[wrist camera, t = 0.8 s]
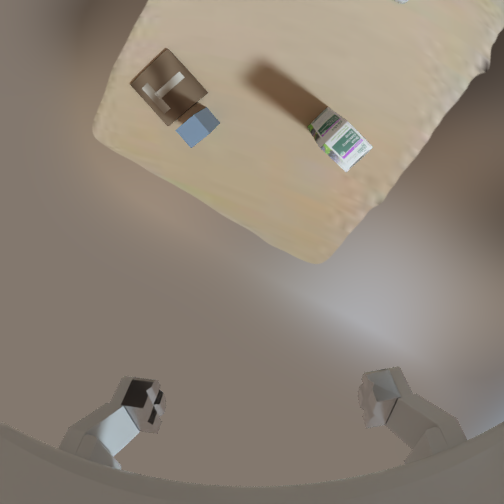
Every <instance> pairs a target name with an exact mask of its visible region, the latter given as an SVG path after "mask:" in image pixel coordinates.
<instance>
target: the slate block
mask: <svg viewBox="0 0 504 504" xmlns="http://www.w3.org/2000/svg"><path fill="white" fill-rule="evenodd" d="M219 124H220V122H219V121H218V120H217V119H216V118H215V116H214V115H213V114H212V113H211V112H210V111H209V109H208V108H207V107H206V108H204V109H203V110H201V111H199V112H198V113H196V114H194V115H193V116H192V117H190V118H189V119H188V120H187V121H186V122H185V123H183V124H182V125H181V126H180V127H179V128H178V129H177V130H176V131H177V133H178V134H179V135H180V136H181V137H182V138H183V139H184V140H185V142H186V143H187V144H188V145H189V146H190V147H191V148H192V147H193V146H195V145H196V144H197V143H198V142H200V141H201V140H202V139H203V138H205V137H206V136H207V135H208V134H210V133H211V132H212V131H213V130H214V129H215V128H216V127H217V126H218V125H219Z"/></svg>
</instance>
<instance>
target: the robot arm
mask: <svg viewBox="0 0 504 504" xmlns="http://www.w3.org/2000/svg"><path fill="white" fill-rule="evenodd" d="M395 1H396V2H398V3H402V4H403V3H405V2H407V1H408V0H395ZM362 382H363V384H362V385H361V386H360V387H359V391H358V400H359V405H360V408H362V409H363V410H364V413H363V418H364V422H365V426H366V428H371V427H376V426H381V425H385V426H386V427H388V428H389V429H390V430H391V431H392V432H393V433H394V434H395V435H397V436H398V437H399V438H400V439H401V440H402V441H403V442H404V443H406V444H407V445H408V446H409V447H410V448H411V449H413V450H412V451H411V453H410V454H409V455H408V457H407V458H406V460H405V461H404V462H405V465H402V466H398V467H395V468H391V469H387V470H383V471H379V472H376V473H371V474H367V475H362V476H357V477H352V478H346V479H340V480H334V481H328V482H320V483H311V484H303V485H289V486H270V487H269V486H266V487H241V486H240V487H239V486H219V485H206V484H196V483H188V482H187V483H186V482H180V481H173V480H167V479H161V478H156V477H150V476H146V475H141V474H136V473H132V472H128V471H124V470H120V469H121V465H120V463H119V462H118V461H117V460H116V459H115V458H114V457H113V456H115V455H116V454H117V453H118V452H119V451H120V450H121V449H122V448H123V447H124V446H125V445H126V444H127V443H129V442H130V441H131V440H132V439H133V438H134V437H135V436H136V435H137V434H138V433H139V431H143V432H150V433H158V431H159V428H160V425H161V422H162V421H161V419H160V416H161V415H162V414H164V412H165V408H166V399H165V396H164V393H163V392H162V391H160V390H159V388H160V384H159V382H158V381H157V380H151V379H143V378H136V377H128V376H124V377H123V378H122V379H121V381H120V383H119V385H118V387H117V389H116V391H115V393H114V395H113V397H112V399H111V401H110V403H106V404H104V405H103V406H101V407H100V408H98V409H96V410H95V411H93V412H92V413H91V414H89V415H87V416H86V417H85V418H83V419H81V420H80V421H78V422H76V423H75V424H73V425H72V426H70V427H69V428H68V430H67V432H66V434H65V436H64V438H63V440H62V442H61V444H60V446H59V448H55V447H53V446H51V445H48V444H46V443H44V442H42V441H40V440H38V439H35V438H33V437H31V436H29V435H27V434H25V433H23V432H21V431H20V430H18V429H16V428H14V427H12V426H10V425H8V424H6V423H0V504H504V422H502V423H500V424H499V425H497V426H495V427H493V428H491V429H489V430H488V431H486V432H484V433H482V434H480V435H478V436H476V437H474V438H472V439H469V440H467V439H466V436H465V434H464V432H463V430H462V428H461V426H460V424H459V422H458V420H457V418H456V417H454V416H452V415H450V414H449V413H447V412H446V411H444V410H442V409H441V408H439V407H437V406H436V405H434V404H432V403H431V402H429V401H427V400H426V399H424V398H423V397H421V396H419V395H417V394H413V393H412V391H411V389H410V387H409V385H408V382H407V380H406V378H405V377H404V374H403V372H402V370H401V368H400V367H393V368H388V369H382V370H377V371H371V372H366V373H364V374H363V376H362Z"/></svg>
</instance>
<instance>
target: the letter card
mask: <svg viewBox="0 0 504 504" xmlns="http://www.w3.org/2000/svg"><path fill="white" fill-rule="evenodd" d="M131 86H132V87H133V88H134V89H135V90H136V91H137V92H138V94H139V95H140V96H141V97H142V98H143V99H144V100H145V101H146V102H147V103H148V105H149V106H150V107H151V108H152V109H153V110H154V111H155V112H156V113H157V115H158V116H159V117H160V118H161V119H162V120H163V121H164V122H165V124H166V125H167V126H170V125H171V124H172V123H173V122H174V121H175V120H176V119H177V118H179V117H180V116H181V115H182V114H183V113H184V112H186V111H187V110H188V109H189V108H190V107H191V106H193V105H194V104H195V103H196V102H197V101H199V100H200V99H201V98H202V97H204V96H205V95H206V94H207V93H208V92H207V91H206V90H205V89H204V88H203V86H202V85H201V84H200V83H199V82H198V81H197V80H196V79H195V77H194V76H193V75H192V74H191V73H190V72H189V71H188V70H187V69H186V67H185V66H184V65H183V64H182V63H181V62H180V61H179V60H178V59H177V58H176V57H175V56H174V55H173V53H172V52H171V51H170V50H169V49H167V50H166V51H165V52H163V53H162V54H161V55H160V56H159V57H158V58H157V59H156V60H155V61H154V62H153V63H152V64H151V65H150V66H148V67H147V68H146V69H145V70H144V71H143V72H142V73H141V74H140V75H139V76H138V77H137V78H136V79H135V81H134V82H133V83H132V84H131Z"/></svg>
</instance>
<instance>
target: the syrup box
mask: <svg viewBox="0 0 504 504" xmlns="http://www.w3.org/2000/svg"><path fill="white" fill-rule="evenodd" d="M308 129H309V131H310V132H311V134H312V136H313V137H314V139H315V141H316V143H317V144H318V146H319V147H320V148H321V149H322V150H323V151H324V152H325V153H326V154H327V155H328V156H330V157H331V159H332V160H334V161H335V162H336V163H337V164H338V165H339V166H340V167H341V168H342V169H343V170H344V171H345V172H347V171H348V170H349V169H350V168H351V167H352V166H353V165H355V164H356V163H357V162H358V161H359V160H360V159H362V158H363V157H364V156H365V155H366V154H367V153H368V152H369V151H370V150H371V149H372V148H373V146H372V145H371V144H370V143H369V142H368V141H367V140H366V139H365V138H364V137H363V136H362V135H361V134H360V133H359V132H358V131H357V130H356V129H355V128H354V127H353V126H352V125H351V124H350V123H349V122H348V121H347V120H346V119H344V118H343V117H342V116H340V115H339V114H337V113H336V112H334V111H333V110H332V109H330V108H329V107H327V108H326V109H325V110H324V111H323V112H322V113H321V114H320V115H319V116H318V117H317V118H316V119H315V120H314V121H313V122H312V123H311V124H310V125H309V126H308Z"/></svg>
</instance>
